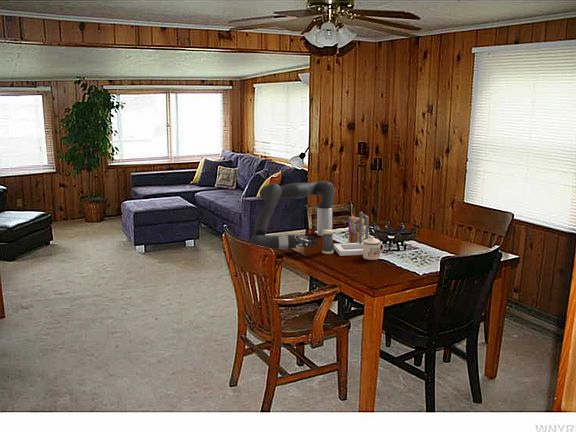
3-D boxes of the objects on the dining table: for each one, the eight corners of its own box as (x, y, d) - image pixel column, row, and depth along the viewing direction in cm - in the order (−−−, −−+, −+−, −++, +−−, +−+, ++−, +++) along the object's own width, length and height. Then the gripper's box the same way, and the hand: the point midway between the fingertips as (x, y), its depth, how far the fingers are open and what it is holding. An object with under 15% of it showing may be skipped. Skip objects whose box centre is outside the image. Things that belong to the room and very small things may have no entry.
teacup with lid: (368, 261, 292) (368, 239, 290) (359, 256, 300) (360, 235, 298) (388, 258, 296) (388, 237, 294) (379, 254, 305) (379, 233, 302)
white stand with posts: (333, 248, 318) (333, 212, 313) (368, 246, 320) (368, 211, 316) (339, 255, 302) (340, 218, 298) (376, 254, 305) (377, 216, 300)
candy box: (364, 244, 325) (364, 218, 322) (359, 245, 323) (359, 219, 319) (353, 241, 332) (353, 216, 329) (348, 242, 329) (348, 217, 326)
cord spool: (320, 251, 312) (321, 229, 309) (332, 250, 313) (332, 229, 310) (323, 254, 306) (323, 232, 303) (334, 253, 307) (334, 232, 304)
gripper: (288, 238, 297) (318, 236, 299) (285, 232, 311) (314, 230, 313) (288, 252, 299) (318, 250, 301) (285, 245, 313) (314, 243, 315)
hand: (316, 240), depth 307 cm, fingers open, 8 cm apart
